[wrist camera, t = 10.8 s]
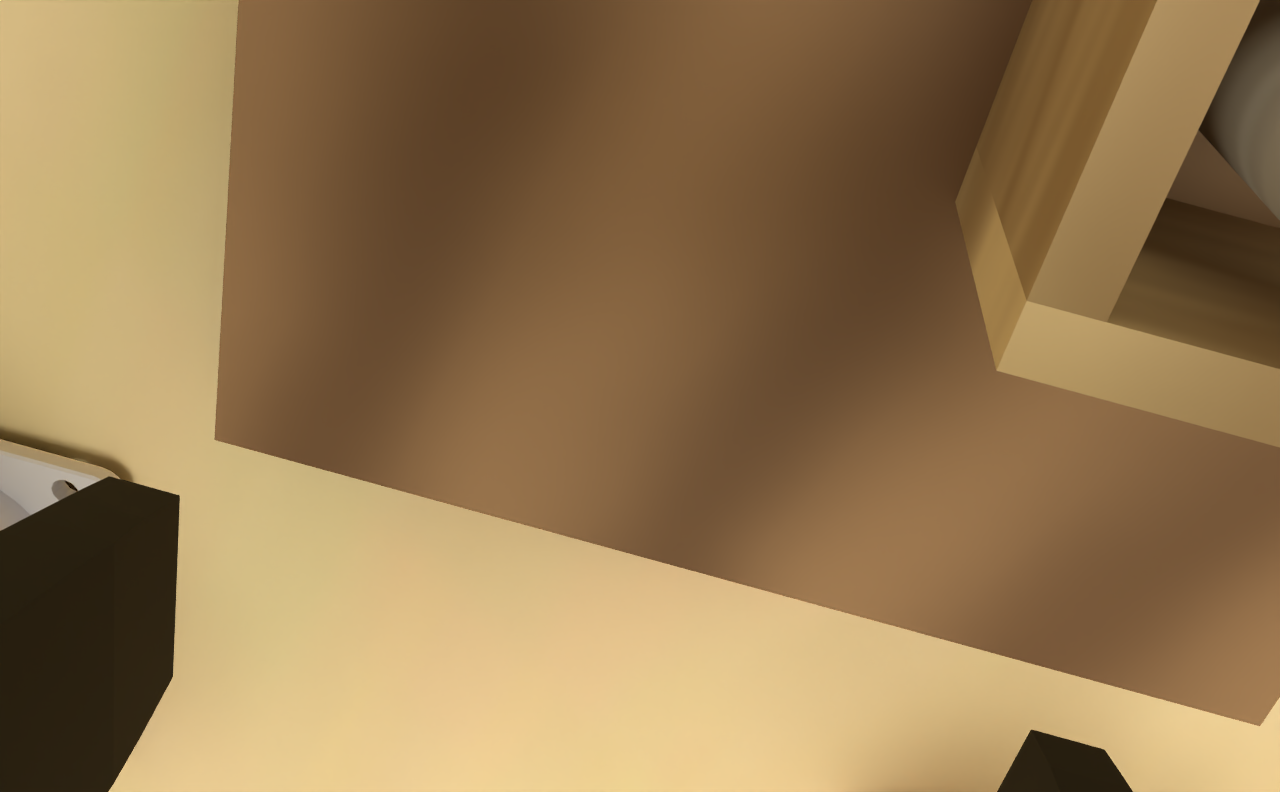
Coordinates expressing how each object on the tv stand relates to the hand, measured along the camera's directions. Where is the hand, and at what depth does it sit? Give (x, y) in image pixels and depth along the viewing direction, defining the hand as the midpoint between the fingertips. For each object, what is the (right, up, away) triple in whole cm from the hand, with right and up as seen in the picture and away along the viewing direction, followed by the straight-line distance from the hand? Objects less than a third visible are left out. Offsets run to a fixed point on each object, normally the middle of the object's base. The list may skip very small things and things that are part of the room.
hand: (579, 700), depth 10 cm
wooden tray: (+4, +6, +8) cm, 10 cm away
